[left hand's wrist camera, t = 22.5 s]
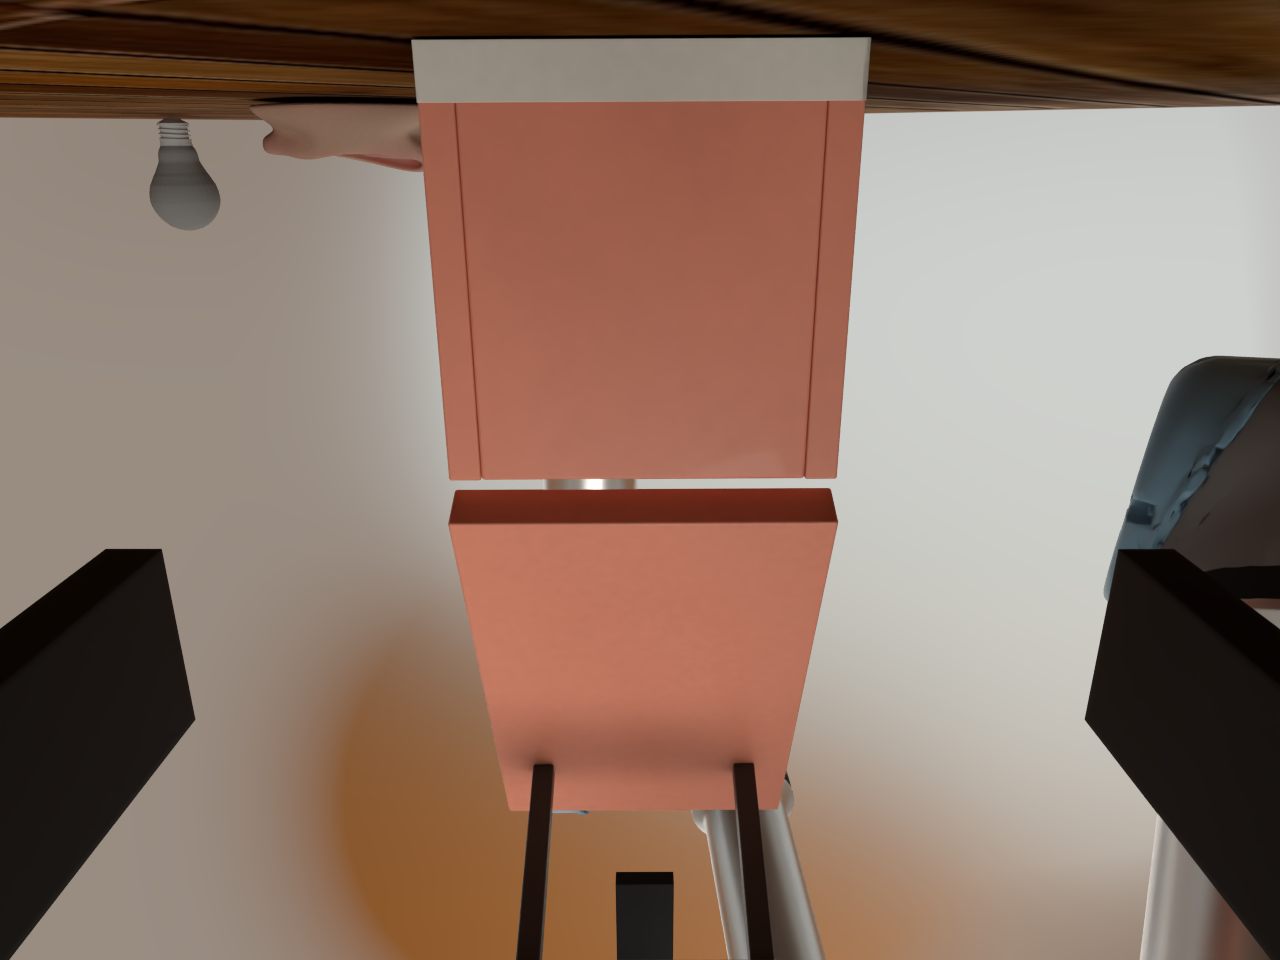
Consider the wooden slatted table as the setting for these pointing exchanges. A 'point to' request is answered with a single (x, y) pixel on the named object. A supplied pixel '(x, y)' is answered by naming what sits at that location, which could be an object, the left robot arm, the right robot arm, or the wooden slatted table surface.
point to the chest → (642, 252)
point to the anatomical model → (345, 132)
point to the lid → (643, 655)
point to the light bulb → (182, 181)
